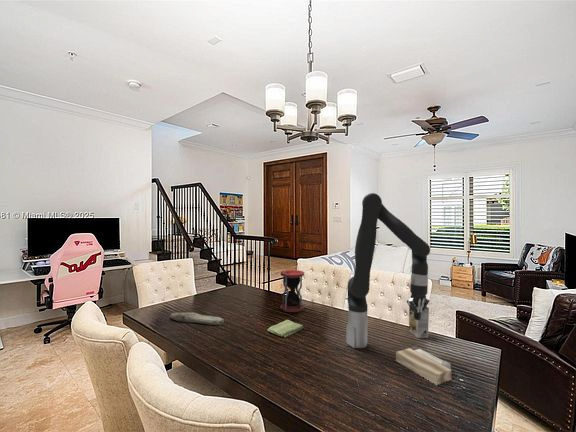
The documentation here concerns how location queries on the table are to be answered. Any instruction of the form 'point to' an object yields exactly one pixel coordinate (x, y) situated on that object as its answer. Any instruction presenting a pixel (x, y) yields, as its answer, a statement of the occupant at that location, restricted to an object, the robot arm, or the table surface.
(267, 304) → the table surface
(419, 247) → the robot arm
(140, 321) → the table surface
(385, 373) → the table surface
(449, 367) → the folding leg
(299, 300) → the hourglass
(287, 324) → the washcloth
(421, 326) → the coffee box
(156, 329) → the table surface
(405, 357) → the rail
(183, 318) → the elongated rock
